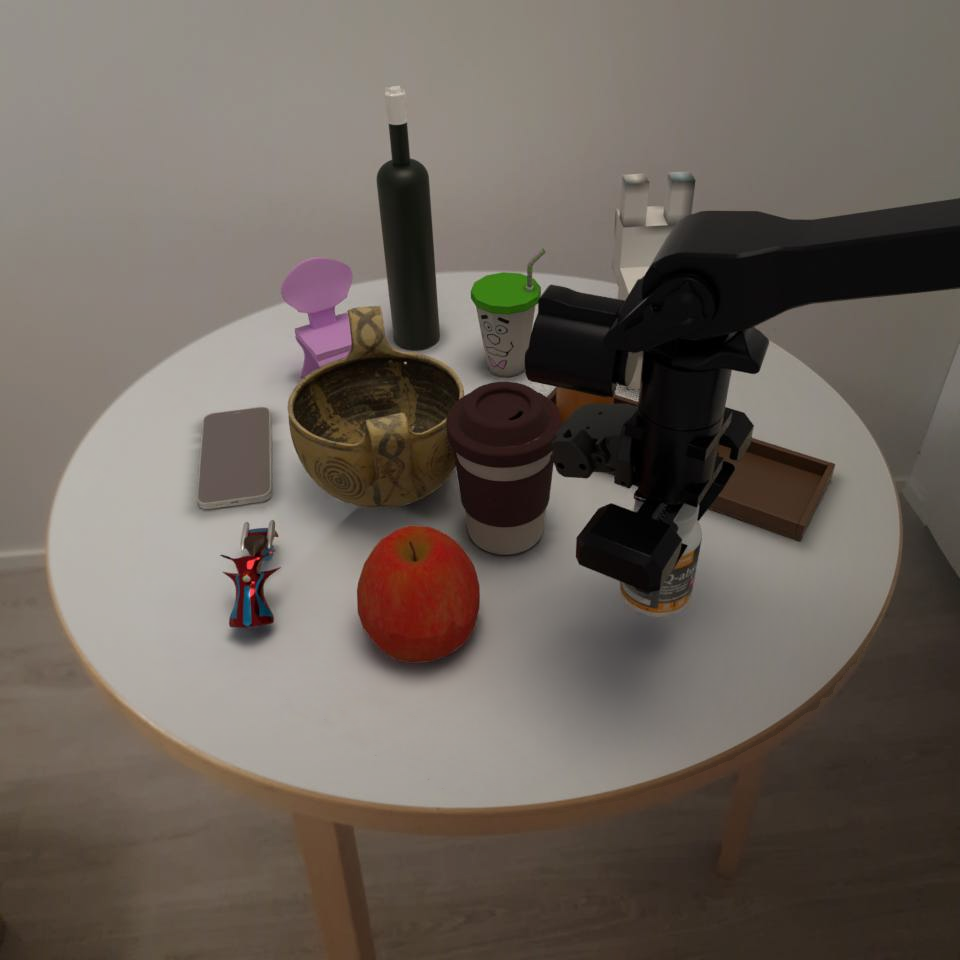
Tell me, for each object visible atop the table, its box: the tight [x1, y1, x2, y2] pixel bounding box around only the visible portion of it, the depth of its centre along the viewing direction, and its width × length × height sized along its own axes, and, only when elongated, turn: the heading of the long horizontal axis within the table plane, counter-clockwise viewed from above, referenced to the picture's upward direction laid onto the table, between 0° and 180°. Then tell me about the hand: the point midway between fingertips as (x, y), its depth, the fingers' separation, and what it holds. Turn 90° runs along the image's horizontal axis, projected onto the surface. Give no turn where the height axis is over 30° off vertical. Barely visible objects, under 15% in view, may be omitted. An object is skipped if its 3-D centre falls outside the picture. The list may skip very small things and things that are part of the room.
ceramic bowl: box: [287, 305, 465, 509], centre depth 88 cm, size 22×17×15 cm
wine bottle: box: [375, 84, 441, 351], centre depth 103 cm, size 6×6×30 cm
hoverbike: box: [219, 519, 282, 629], centre depth 80 cm, size 5×12×6 cm, turn 5°
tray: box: [546, 387, 836, 542], centre depth 93 cm, size 30×10×2 cm, turn 58°
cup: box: [470, 248, 546, 378], centre depth 103 cm, size 8×8×15 cm
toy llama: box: [611, 170, 697, 391], centre depth 102 cm, size 8×18×20 cm, turn 3°
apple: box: [356, 524, 481, 664], centre depth 75 cm, size 10×10×10 cm
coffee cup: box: [446, 381, 562, 556], centre depth 82 cm, size 10×10×15 cm
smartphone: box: [196, 406, 273, 510], centre depth 96 cm, size 7×1×15 cm
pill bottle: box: [619, 499, 703, 618], centre depth 70 cm, size 6×6×10 cm
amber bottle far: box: [556, 387, 614, 426], centre depth 95 cm, size 6×6×10 cm
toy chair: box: [280, 256, 354, 378], centre depth 101 cm, size 8×9×15 cm
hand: (658, 566), depth 71 cm, fingers closed on pill bottle, 5 cm apart
